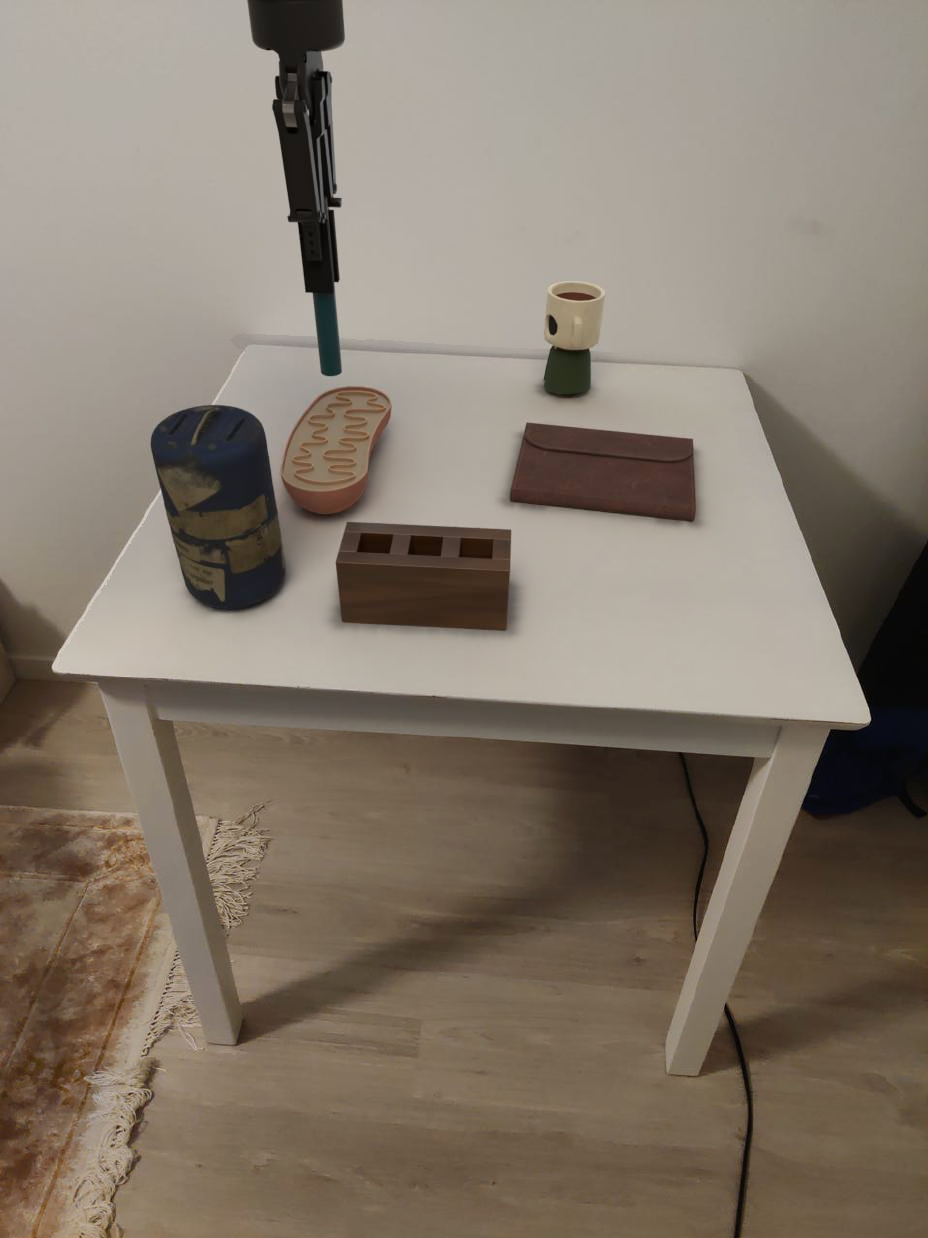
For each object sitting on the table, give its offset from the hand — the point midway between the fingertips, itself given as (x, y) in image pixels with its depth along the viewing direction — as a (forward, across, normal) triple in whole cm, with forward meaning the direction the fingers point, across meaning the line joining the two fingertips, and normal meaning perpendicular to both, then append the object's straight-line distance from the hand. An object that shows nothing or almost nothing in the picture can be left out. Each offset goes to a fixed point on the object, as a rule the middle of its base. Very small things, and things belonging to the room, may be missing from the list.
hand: (322, 285), depth 83 cm
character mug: (+21, +23, -26) cm, 41 cm away
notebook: (+21, +2, -30) cm, 37 cm away
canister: (+21, -21, +6) cm, 30 cm away
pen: (+9, 0, 0) cm, 9 cm away
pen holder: (+21, -22, -12) cm, 33 cm away
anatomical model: (+21, 0, 0) cm, 21 cm away
